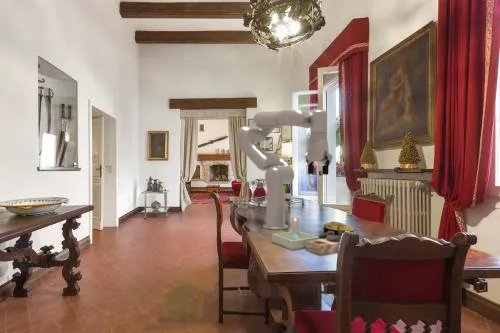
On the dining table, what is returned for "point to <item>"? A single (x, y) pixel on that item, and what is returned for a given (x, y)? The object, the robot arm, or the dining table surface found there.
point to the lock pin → (295, 229)
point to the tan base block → (324, 245)
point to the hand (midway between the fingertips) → (317, 174)
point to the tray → (286, 241)
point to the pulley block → (335, 229)
